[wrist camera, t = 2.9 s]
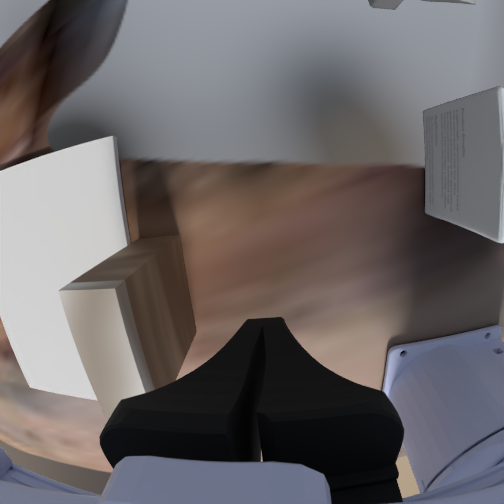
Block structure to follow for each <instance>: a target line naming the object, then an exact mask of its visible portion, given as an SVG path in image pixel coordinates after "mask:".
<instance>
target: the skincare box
mask: <svg viewBox="0 0 504 504" xmlns="http://www.w3.org/2000/svg"><path fill="white" fill-rule="evenodd" d="M423 121H424V139H425V213H426V214H428V215H430V216H433V217H436V218H439V219H442V220H445V221H448V222H450V223H453V224H456V225H458V226H461V227H463V228H466V229H468V230H471V231H473V232H475V233H478V234H480V235H482V236H484V237H487V238H489V239H491V240H493V241H496V242H498V243H504V88H503V87H494V88H491V89H488V90H485V91H482V92H479V93H475V94H472V95H469V96H466V97H463V98H459V99H456V100H453V101H450V102H447V103H444V104H441V105H438V106H435V107H433V108H429V109H427V110H424V111H423Z"/></svg>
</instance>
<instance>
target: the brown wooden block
mask: <svg viewBox="0 0 504 504" xmlns="http://www.w3.org/2000/svg"><path fill="white" fill-rule="evenodd" d="M58 291H59V295H60V298H61V302H62V305H63V309H64V312H65V315H66V318H67V321H68V325H69V328H70V331H71V334H72V336H73V339H74V342H75V345H76V348H77V351H78V353H79V356H80V359H81V361H82V364H83V366H84V369H85V372H86V374H87V376H88V379H89V381H90V384H91V386H92V388H93V391H94V393H95V395H96V398H97V400H98V402H99V404H100V406H101V409H102V411H103V413H104V415H105V417H106V418H110V417H111V415H112V413H113V411H114V410H115V408H116V407H117V405H118V403H119V402H120V401H121V399H126V398H129V397H133V396H137V395H140V394H144V393H147V392H150V391H153V390H155V389H158V388H160V387H163V386H165V385H168V384H170V383H172V382H174V381H175V380H176V378H177V376H178V373H179V371H180V369H181V366H182V364H183V362H184V359H185V357H186V355H187V353H188V350H189V348H190V346H191V343H192V341H193V339H194V336H195V334H196V326H195V321H194V316H193V310H192V305H191V299H190V294H189V288H188V282H187V276H186V270H185V264H184V258H183V252H182V245H181V238H180V235H170V236H160V237H150V238H140V239H138V240H136V241H134V242H133V243H131V244H129V245H128V246H126V247H125V248H123V249H121V250H120V251H118V252H117V253H115V254H113V255H112V256H110V257H109V258H107V259H106V260H104V261H102V262H101V263H99V264H98V265H96V266H95V267H93V268H92V269H90V270H88V271H87V272H85V273H84V274H82V275H81V276H79V277H78V278H76V279H75V280H73V281H72V282H70V283H69V284H67V285H66V286H64V287H63V288H61V289H60V290H58Z"/></svg>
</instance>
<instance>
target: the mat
mask: <svg viewBox="0 0 504 504" xmlns="http://www.w3.org/2000/svg"><path fill="white" fill-rule="evenodd" d="M129 244H131V241H130V235H129V229H128V223H127V217H126V210H125V204H124V197H123V189H122V181H121V173H120V164H119V155H118V145H117V136H110V137H105V138H102V139H98V140H94V141H90V142H86V143H83V144H80V145H76V146H73V147H69V148H66V149H63V150H59V151H56V152H53V153H50V154H47V155H43V156H40V157H37V158H35V159H32V160H29V161H26V162H23V163H20V164H18V165H15V166H12V167H10V168H7V169H4V170H2V171H0V317H1V320H2V322H3V325H4V328H5V331H6V333H7V336H8V338H9V341H10V344H11V346H12V348H13V351H14V353H15V356H16V358H17V360H18V363H19V365H20V367H21V369H22V372H23V374H24V376H25V378H26V380H27V382H28V384H29V386H30V388H35V389H39V390H44V391H48V392H53V393H58V394H63V395H69V396H74V397H80V398H86V399H92V400H97V398H96V395H95V393H94V391H93V388H92V386H91V384H90V381H89V379H88V376H87V374H86V372H85V369H84V366H83V364H82V361H81V359H80V356H79V353H78V351H77V348H76V345H75V342H74V339H73V336H72V334H71V331H70V328H69V325H68V321H67V318H66V315H65V312H64V309H63V305H62V302H61V298H60V295H59V291H58V290H60V289H61V288H63V287H64V286H66V285H67V284H69V283H70V282H72V281H73V280H75V279H76V278H78V277H79V276H81V275H82V274H84V273H85V272H87V271H88V270H90V269H92V268H93V267H95V266H96V265H98V264H99V263H101V262H102V261H104V260H106V259H107V258H109V257H110V256H112V255H113V254H115V253H117V252H118V251H120V250H121V249H123V248H125V247H126V246H128V245H129Z"/></svg>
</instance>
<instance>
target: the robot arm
mask: <svg viewBox="0 0 504 504" xmlns="http://www.w3.org/2000/svg"><path fill="white" fill-rule="evenodd" d="M501 333H502V328H501V327H500V326H499V325H494V326H490V327H486V328H482V329H478V330H474V331H469V332H465V333H460V334H456V335H451V336H446V337H441V338H436V339H431V340H426V341H420V342H415V343H409V344H403V345H397V346H393V347H392V348H390V350H389V351H388V355H387V363H386V370H385V377H384V383H383V389H382V391H380V390H376V389H373V388H369V387H366V386H363V385H360V384H357V383H355V382H352V381H350V380H348V379H345V378H343V377H341V376H339V375H337V374H336V373H334V372H332V371H331V370H329V369H327V368H326V367H324V366H323V365H321V364H320V363H319V362H318V361H316V360H315V359H314V358H313V357H312V356H311V355H310V354H309V353H308V352H307V351H306V350H305V349H304V348H303V347H302V346H301V345H300V344H299V343H298V341H297V340H296V339H295V337H294V336H293V335H292V333H291V332H290V330H289V329H288V327H287V325H286V323H285V321H284V319H283V318H282V317H275V318H259V319H247V321H246V322H245V323H244V324H243V325H242V326H241V328H240V329H239V330H238V331H237V332H236V334H235V335H234V336H233V337H232V338H231V339H230V340H229V341H228V343H227V344H226V345H225V346H224V347H223V348H222V349H221V350H220V351H219V352H217V353H216V354H215V355H214V356H213V357H212V358H211V359H209V360H208V361H207V362H205V363H204V364H203V365H201V366H200V367H198V368H197V369H195V370H194V371H192V372H190V373H189V374H187V375H185V376H183V377H182V378H180V379H178V380H176V381H174V382H172V383H170V384H168V385H165V386H163V387H160V388H158V389H155V390H153V391H150V392H147V393H144V394H140V395H137V396H133V397H129V398H126V399H121V401H120V402H119V403H118V405H117V407H116V408H115V410H114V411H113V413H112V415H111V417H110V418H109V420H108V422H107V424H106V425H105V427H104V429H103V431H102V433H101V435H100V446H101V448H102V450H103V453H104V454H105V456H106V458H107V459H108V461H109V463H110V464H111V466H112V467H113V469H114V470H113V472H112V474H111V476H110V478H109V481H108V482H107V485H106V487H105V489H104V491H103V493H102V495H98V494H94V493H91V492H87V491H84V490H81V489H78V488H75V487H72V486H69V485H66V484H63V483H60V482H57V481H55V480H52V479H49V478H47V477H44V476H41V475H39V474H36V473H34V472H32V471H30V470H27V469H25V468H23V467H20V466H18V465H16V464H14V463H13V462H12V460H11V458H10V457H9V455H8V454H7V453H6V452H5V451H4V450H3V449H2V448H1V447H0V504H504V342H503V341H502V340H501V339H500V337H501ZM486 334H487V335H486ZM404 350H405V352H404V353H402V354H400V353H401V352H402V351H404ZM402 444H403V446H404V449H405V452H406V454H407V457H408V459H409V462H410V465H411V468H412V471H413V473H414V476H415V479H416V482H417V485H418V488H419V491H420V494H417V495H414V496H410V497H407V498H402V496H401V493H400V490H399V487H398V483H397V478H398V476H399V472H398V469H397V466H396V460H397V457H398V455H399V452H400V449H401V446H402ZM261 451H262V458H263V462H261Z"/></svg>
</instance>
